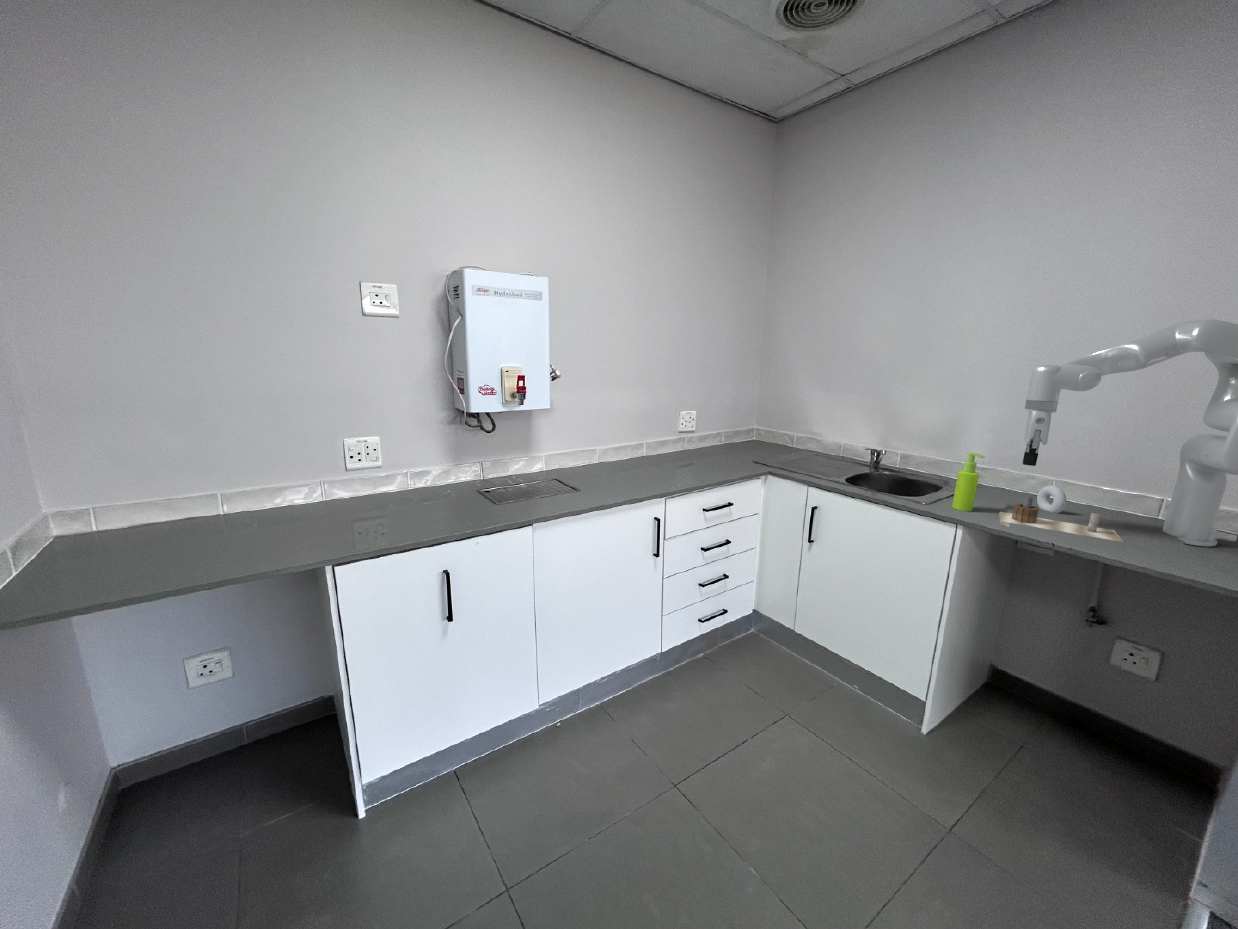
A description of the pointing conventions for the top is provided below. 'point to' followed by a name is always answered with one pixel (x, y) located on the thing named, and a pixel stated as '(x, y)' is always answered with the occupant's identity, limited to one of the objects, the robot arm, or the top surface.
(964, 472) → the soap dispenser
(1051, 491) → the donut
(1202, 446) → the robot arm
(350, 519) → the top surface
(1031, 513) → the walnut ring
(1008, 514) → the peg board
